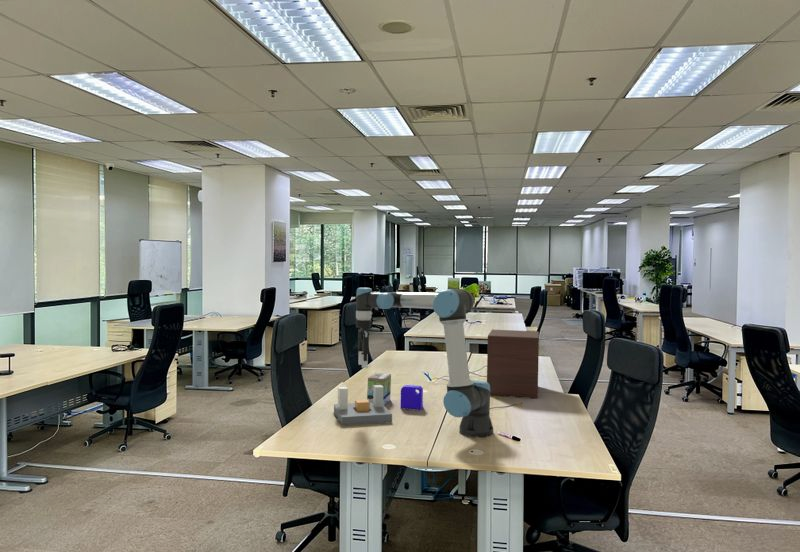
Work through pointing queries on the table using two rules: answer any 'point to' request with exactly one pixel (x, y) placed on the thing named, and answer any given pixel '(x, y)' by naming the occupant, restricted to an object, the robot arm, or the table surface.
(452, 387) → the robot arm
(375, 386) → the light grey tall block
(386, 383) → the tea box
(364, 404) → the button
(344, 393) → the block
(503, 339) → the storage cube
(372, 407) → the panel
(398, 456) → the table surface
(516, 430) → the table surface
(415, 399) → the bracket
